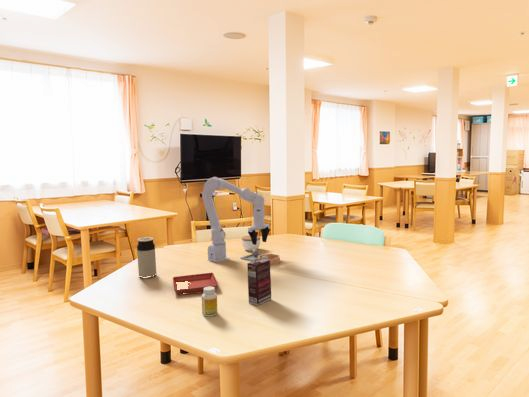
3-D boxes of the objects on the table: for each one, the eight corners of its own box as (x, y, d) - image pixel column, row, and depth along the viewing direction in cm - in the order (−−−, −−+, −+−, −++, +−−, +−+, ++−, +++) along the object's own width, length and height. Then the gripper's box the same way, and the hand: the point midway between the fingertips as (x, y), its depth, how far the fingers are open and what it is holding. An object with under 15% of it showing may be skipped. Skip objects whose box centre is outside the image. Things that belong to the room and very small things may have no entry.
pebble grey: (267, 264, 206) (264, 260, 204) (262, 263, 208) (259, 259, 206) (271, 258, 207) (267, 254, 205) (265, 257, 210) (262, 253, 208)
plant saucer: (174, 297, 162) (173, 289, 162) (172, 283, 179) (172, 276, 179) (219, 292, 167) (218, 284, 166) (213, 279, 184) (213, 272, 183)
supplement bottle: (199, 314, 144) (198, 288, 143) (211, 309, 148) (210, 284, 147) (208, 318, 140) (207, 291, 139) (220, 313, 144) (219, 287, 143)
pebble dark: (255, 257, 217) (255, 251, 216) (250, 256, 219) (250, 250, 218) (260, 256, 219) (260, 249, 219) (255, 255, 222) (255, 248, 221)
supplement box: (262, 296, 160) (261, 257, 158) (271, 299, 157) (270, 259, 155) (247, 303, 153) (246, 262, 151) (257, 306, 150) (256, 265, 148)
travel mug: (151, 279, 185) (149, 240, 183) (135, 278, 187) (133, 240, 184) (159, 274, 193) (157, 237, 191) (144, 273, 194) (141, 236, 192)
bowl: (270, 266, 201) (269, 260, 200) (253, 262, 208) (253, 257, 207) (283, 261, 209) (283, 256, 208) (267, 258, 216) (267, 252, 216)
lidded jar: (239, 249, 237) (239, 233, 236) (256, 247, 241) (255, 231, 240) (246, 253, 227) (246, 237, 226) (263, 251, 231) (263, 235, 230)
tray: (253, 262, 209) (252, 260, 209) (240, 259, 215) (240, 257, 215) (268, 257, 218) (268, 255, 218) (255, 254, 224) (255, 252, 224)
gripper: (255, 220, 204) (255, 246, 205) (273, 216, 214) (274, 241, 216) (245, 219, 208) (245, 244, 210) (263, 215, 219) (264, 239, 221)
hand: (259, 243), depth 213 cm, fingers open, 7 cm apart
